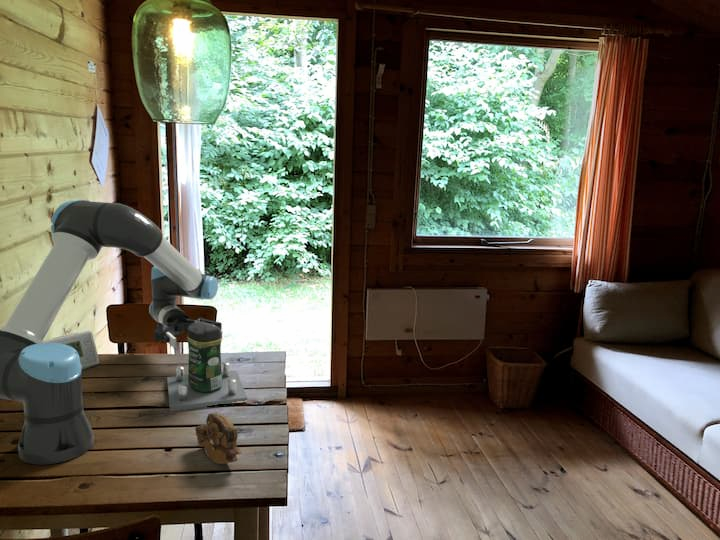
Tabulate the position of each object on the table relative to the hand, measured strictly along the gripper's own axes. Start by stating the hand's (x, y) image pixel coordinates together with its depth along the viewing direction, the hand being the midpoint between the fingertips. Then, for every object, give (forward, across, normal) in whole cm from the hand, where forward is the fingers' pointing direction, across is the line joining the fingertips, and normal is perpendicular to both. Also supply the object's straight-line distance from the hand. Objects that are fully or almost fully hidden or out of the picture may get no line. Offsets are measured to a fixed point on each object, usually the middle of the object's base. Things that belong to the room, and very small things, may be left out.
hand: (198, 339), depth 164 cm
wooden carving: (+41, +11, -14) cm, 45 cm away
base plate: (+6, 0, -14) cm, 15 cm away
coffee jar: (+6, +1, -12) cm, 14 cm away
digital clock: (-30, +29, -14) cm, 44 cm away
